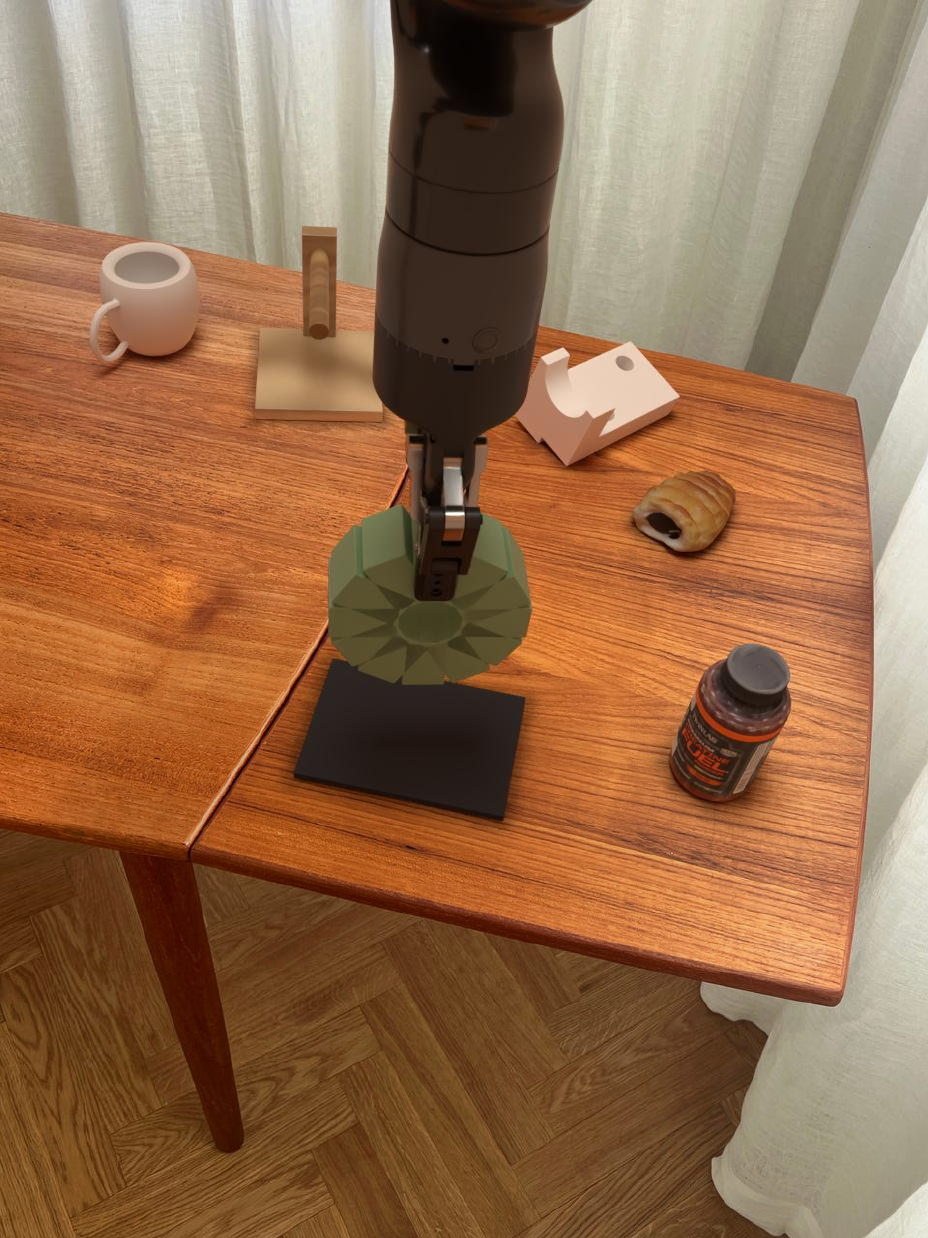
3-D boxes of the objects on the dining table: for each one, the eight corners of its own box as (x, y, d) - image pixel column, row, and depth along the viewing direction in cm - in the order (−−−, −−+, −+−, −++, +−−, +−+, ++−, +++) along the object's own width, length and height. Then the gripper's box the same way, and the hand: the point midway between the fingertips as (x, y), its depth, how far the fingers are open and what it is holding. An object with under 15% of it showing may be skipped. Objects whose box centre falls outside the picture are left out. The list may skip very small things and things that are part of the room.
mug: (151, 302, 106) (141, 226, 100) (222, 334, 104) (216, 259, 98) (60, 362, 99) (44, 284, 93) (135, 398, 97) (123, 320, 91)
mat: (293, 777, 73) (293, 772, 72) (332, 663, 80) (332, 657, 79) (502, 821, 72) (503, 816, 72) (524, 702, 79) (525, 696, 78)
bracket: (562, 472, 97) (593, 418, 91) (514, 414, 99) (540, 357, 92) (664, 420, 103) (699, 366, 97) (616, 366, 105) (647, 310, 99)
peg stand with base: (382, 425, 97) (388, 312, 89) (255, 423, 96) (248, 307, 87) (377, 340, 106) (382, 228, 97) (260, 336, 104) (255, 223, 96)
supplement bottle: (650, 770, 76) (691, 666, 68) (695, 719, 79) (740, 614, 71) (725, 822, 74) (777, 721, 65) (768, 767, 77) (823, 664, 69)
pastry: (685, 473, 97) (697, 439, 94) (750, 513, 95) (764, 479, 92) (623, 524, 92) (633, 490, 89) (690, 567, 89) (703, 534, 87)
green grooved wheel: (516, 684, 69) (544, 553, 60) (327, 685, 67) (329, 551, 59) (508, 635, 72) (535, 503, 63) (327, 635, 70) (329, 499, 61)
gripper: (371, 219, 55) (361, 481, 67) (380, 400, 45) (367, 664, 58) (521, 226, 55) (484, 483, 68) (561, 405, 46) (509, 664, 59)
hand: (430, 565), depth 63 cm, fingers closed on green grooved wheel, 4 cm apart
